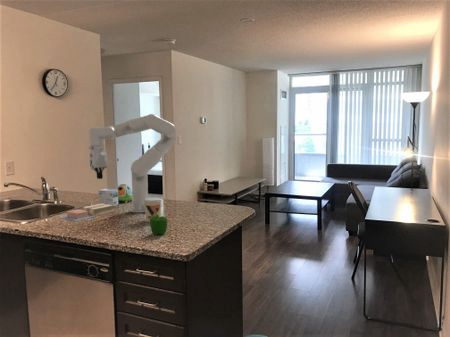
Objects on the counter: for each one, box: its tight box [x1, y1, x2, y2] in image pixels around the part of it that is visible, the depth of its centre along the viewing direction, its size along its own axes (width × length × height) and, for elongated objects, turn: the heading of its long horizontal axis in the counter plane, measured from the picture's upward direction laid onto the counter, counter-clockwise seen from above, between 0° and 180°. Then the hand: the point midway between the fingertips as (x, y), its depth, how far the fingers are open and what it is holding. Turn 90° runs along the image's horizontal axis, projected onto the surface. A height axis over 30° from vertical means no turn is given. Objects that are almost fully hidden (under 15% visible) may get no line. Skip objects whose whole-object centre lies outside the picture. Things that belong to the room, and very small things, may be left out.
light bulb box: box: [98, 188, 119, 207], centre depth 257 cm, size 11×7×11 cm, turn 76°
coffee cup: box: [144, 197, 162, 223], centre depth 214 cm, size 9×9×12 cm
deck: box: [81, 203, 115, 217], centre depth 235 cm, size 12×14×4 cm
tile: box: [66, 208, 88, 219], centre depth 223 cm, size 10×7×3 cm
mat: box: [58, 215, 96, 222], centre depth 223 cm, size 16×13×1 cm
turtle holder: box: [115, 183, 132, 204], centre depth 273 cm, size 12×18×12 cm
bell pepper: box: [149, 214, 168, 236], centre depth 187 cm, size 8×8×10 cm
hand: (99, 178), depth 234 cm, fingers closed
